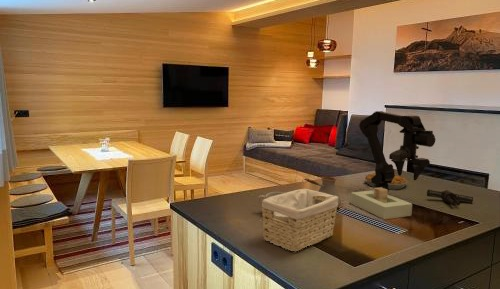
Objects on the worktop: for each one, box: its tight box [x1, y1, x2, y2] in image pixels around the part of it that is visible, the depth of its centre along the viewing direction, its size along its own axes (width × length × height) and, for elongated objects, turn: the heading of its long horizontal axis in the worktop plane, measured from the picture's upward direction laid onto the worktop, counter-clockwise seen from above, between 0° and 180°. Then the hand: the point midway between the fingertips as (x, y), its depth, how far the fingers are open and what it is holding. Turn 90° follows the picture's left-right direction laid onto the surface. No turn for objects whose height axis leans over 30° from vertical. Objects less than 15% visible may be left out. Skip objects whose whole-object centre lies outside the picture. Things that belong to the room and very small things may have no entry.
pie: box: [364, 173, 408, 190], centre depth 200 cm, size 22×22×5 cm
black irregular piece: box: [426, 188, 474, 206], centre depth 167 cm, size 5×20×15 cm
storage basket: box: [261, 188, 339, 251], centre depth 124 cm, size 24×16×15 cm
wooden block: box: [373, 187, 389, 203], centre depth 158 cm, size 4×4×8 cm
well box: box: [350, 189, 413, 220], centre depth 158 cm, size 22×14×5 cm, turn 21°
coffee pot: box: [301, 176, 342, 207], centre depth 156 cm, size 21×12×15 cm, turn 128°
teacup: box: [257, 191, 285, 207], centre depth 150 cm, size 14×11×8 cm
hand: (407, 177), depth 165 cm, fingers open, 9 cm apart
